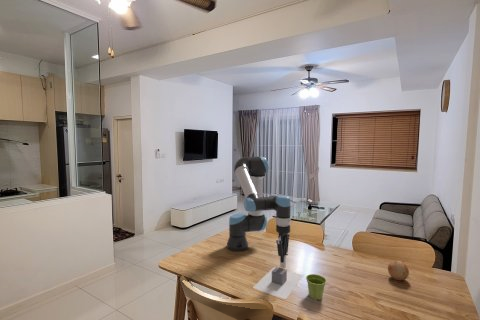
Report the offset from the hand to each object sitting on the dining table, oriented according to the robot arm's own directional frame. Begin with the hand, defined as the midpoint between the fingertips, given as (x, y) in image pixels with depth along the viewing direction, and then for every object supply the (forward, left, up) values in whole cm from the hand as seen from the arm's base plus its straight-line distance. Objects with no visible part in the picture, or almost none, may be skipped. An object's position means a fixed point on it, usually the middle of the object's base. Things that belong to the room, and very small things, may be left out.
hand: (283, 267), depth 137 cm
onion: (+53, +34, -7) cm, 63 cm away
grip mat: (0, -4, -6) cm, 8 cm away
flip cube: (0, -1, -3) cm, 3 cm away
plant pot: (+20, -6, -7) cm, 22 cm away
